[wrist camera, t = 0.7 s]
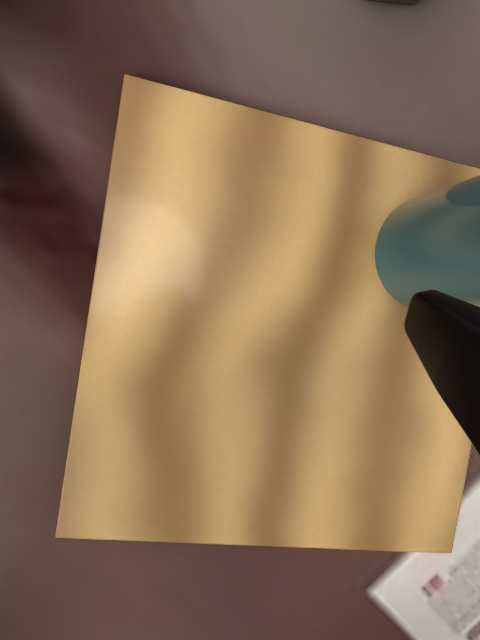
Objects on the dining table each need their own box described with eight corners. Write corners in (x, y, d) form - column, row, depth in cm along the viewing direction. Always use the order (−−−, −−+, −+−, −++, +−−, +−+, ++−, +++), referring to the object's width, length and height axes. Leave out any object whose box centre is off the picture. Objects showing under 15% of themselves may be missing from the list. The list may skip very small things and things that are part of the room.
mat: (513, 182, 26) (522, 179, 25) (445, 548, 27) (451, 554, 26) (125, 79, 21) (124, 73, 20) (57, 531, 22) (54, 538, 21)
